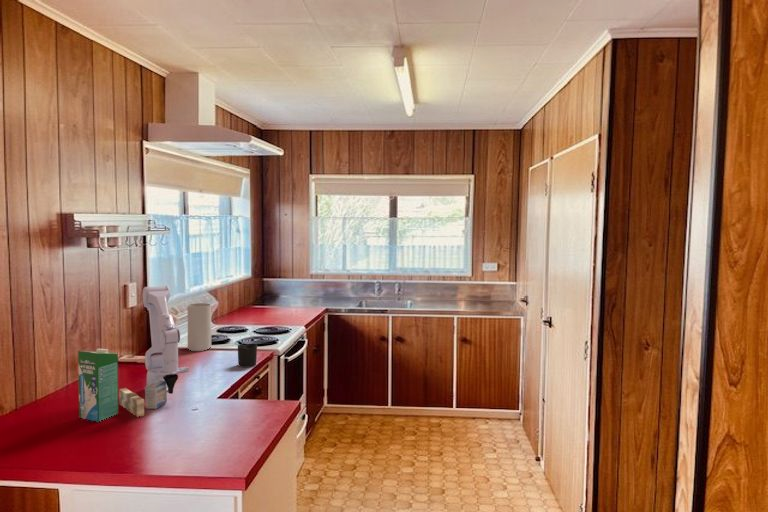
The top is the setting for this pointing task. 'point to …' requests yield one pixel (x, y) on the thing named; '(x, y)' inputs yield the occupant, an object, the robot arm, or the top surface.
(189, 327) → the cylinder vase
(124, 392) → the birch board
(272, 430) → the top surface
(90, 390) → the milk carton
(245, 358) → the pen holder
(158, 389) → the medicine box
